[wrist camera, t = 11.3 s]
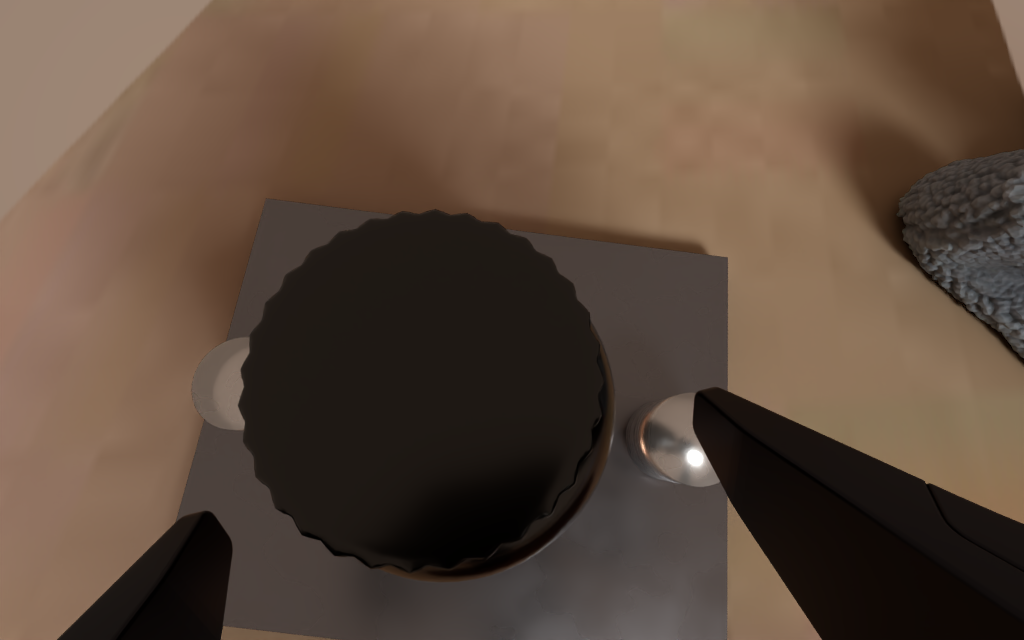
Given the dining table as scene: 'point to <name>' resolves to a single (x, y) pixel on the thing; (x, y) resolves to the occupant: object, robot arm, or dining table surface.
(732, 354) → the dining table surface
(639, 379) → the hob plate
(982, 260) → the koala plush
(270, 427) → the supplement bottle
